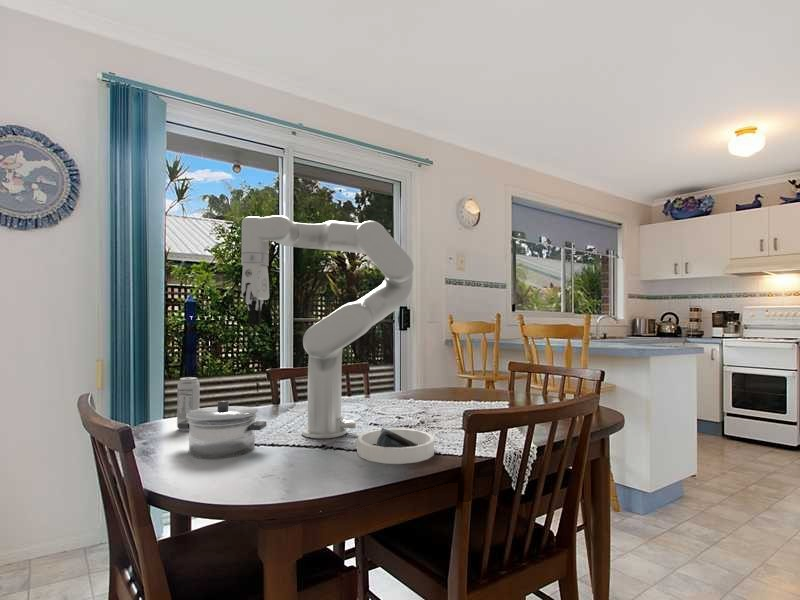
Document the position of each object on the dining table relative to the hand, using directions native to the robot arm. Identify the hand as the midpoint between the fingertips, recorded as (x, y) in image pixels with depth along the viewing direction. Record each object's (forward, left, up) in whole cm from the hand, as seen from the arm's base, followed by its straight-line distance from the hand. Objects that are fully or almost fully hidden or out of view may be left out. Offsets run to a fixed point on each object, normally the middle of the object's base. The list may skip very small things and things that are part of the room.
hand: (254, 324), depth 142 cm
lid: (+2, +16, -23) cm, 28 cm away
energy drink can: (+21, -3, -31) cm, 38 cm away
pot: (+2, +16, -31) cm, 35 cm away
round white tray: (-42, +14, -31) cm, 54 cm away
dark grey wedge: (-43, +17, -32) cm, 56 cm away
